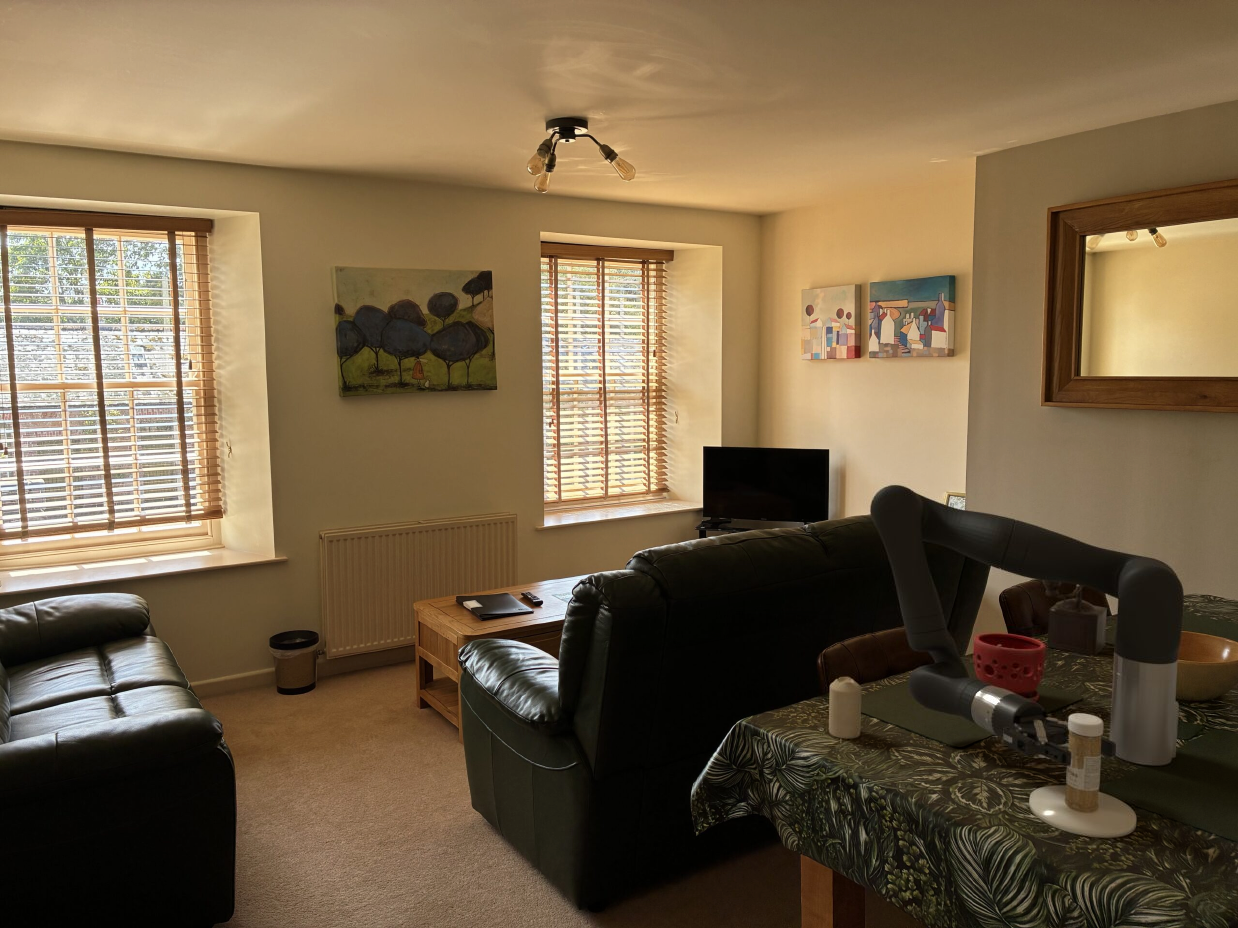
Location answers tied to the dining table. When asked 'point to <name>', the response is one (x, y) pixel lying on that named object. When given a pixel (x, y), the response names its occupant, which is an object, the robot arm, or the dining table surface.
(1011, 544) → the robot arm
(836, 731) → the candle
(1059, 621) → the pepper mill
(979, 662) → the plant pot
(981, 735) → the dining table surface
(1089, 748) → the sprinkles bottle
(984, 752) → the dining table surface
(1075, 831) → the cream plate
